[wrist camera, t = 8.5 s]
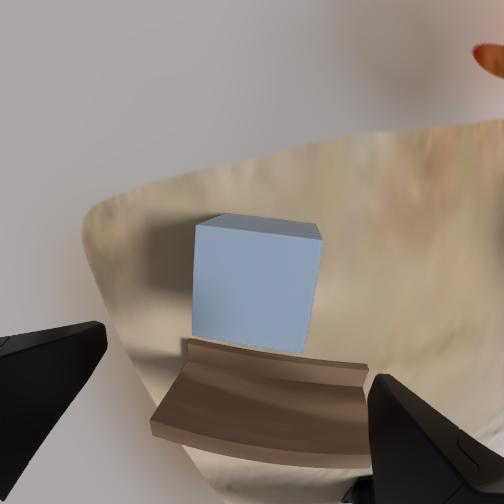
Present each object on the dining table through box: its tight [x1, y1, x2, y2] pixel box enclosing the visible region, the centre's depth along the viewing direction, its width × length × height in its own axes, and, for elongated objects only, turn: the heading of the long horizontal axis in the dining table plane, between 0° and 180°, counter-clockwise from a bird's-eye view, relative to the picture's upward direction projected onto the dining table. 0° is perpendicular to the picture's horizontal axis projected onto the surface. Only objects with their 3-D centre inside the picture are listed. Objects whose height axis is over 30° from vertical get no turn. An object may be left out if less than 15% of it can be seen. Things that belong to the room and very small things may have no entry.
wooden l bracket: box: [150, 339, 372, 469], centre depth 18 cm, size 5×14×8 cm, turn 84°
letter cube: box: [192, 213, 323, 353], centre depth 17 cm, size 6×6×6 cm
